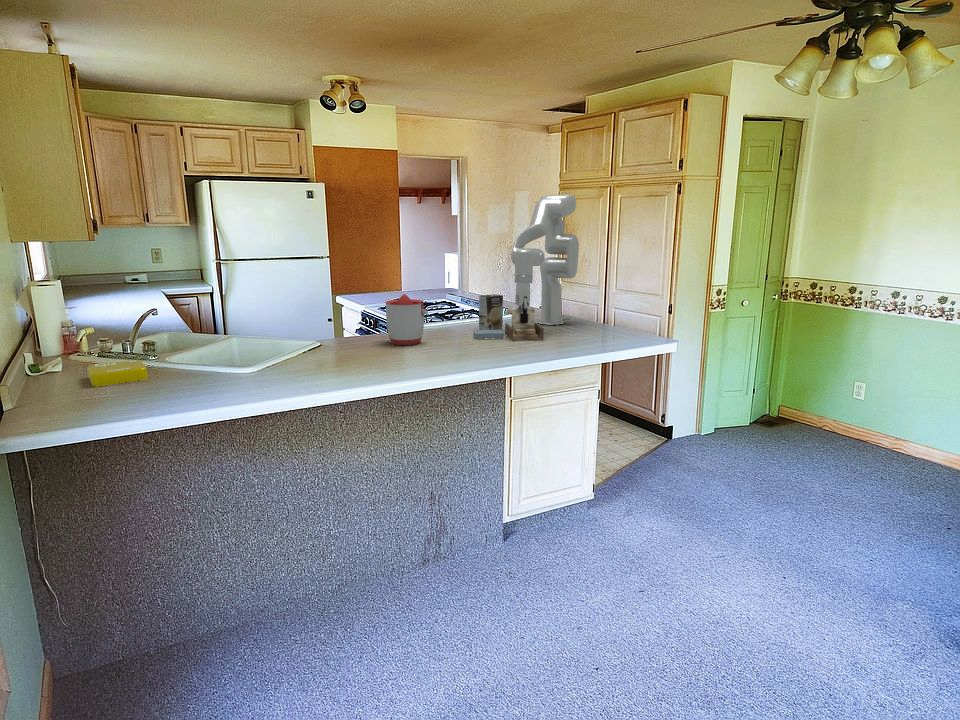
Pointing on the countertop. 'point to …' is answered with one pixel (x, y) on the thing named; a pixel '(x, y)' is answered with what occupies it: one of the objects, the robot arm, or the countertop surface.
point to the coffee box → (490, 312)
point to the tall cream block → (516, 319)
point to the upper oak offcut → (525, 332)
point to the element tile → (117, 372)
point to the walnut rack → (527, 337)
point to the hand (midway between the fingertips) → (522, 321)
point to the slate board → (488, 334)
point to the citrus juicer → (405, 320)
